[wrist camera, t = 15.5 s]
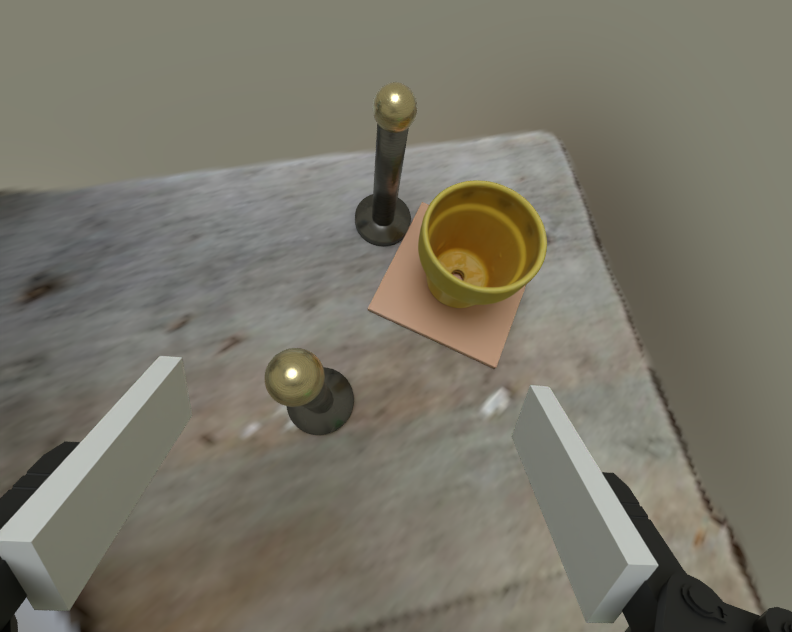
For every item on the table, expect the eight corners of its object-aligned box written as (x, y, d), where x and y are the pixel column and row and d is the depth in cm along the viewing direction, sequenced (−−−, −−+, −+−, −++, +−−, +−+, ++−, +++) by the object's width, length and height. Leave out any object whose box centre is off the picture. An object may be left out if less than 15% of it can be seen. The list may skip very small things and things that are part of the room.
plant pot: (427, 339, 37) (449, 307, 28) (394, 249, 40) (405, 192, 31) (519, 311, 39) (569, 273, 30) (482, 226, 42) (518, 167, 33)
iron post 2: (345, 232, 41) (337, 101, 25) (369, 190, 43) (376, 44, 27) (396, 254, 41) (419, 137, 25) (417, 211, 42) (453, 77, 27)
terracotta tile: (367, 310, 38) (367, 308, 38) (421, 205, 43) (422, 201, 42) (493, 368, 38) (496, 367, 37) (535, 255, 42) (537, 253, 42)
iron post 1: (276, 417, 34) (205, 401, 19) (308, 358, 36) (268, 298, 20) (335, 446, 34) (314, 454, 18) (364, 385, 36) (368, 345, 20)
